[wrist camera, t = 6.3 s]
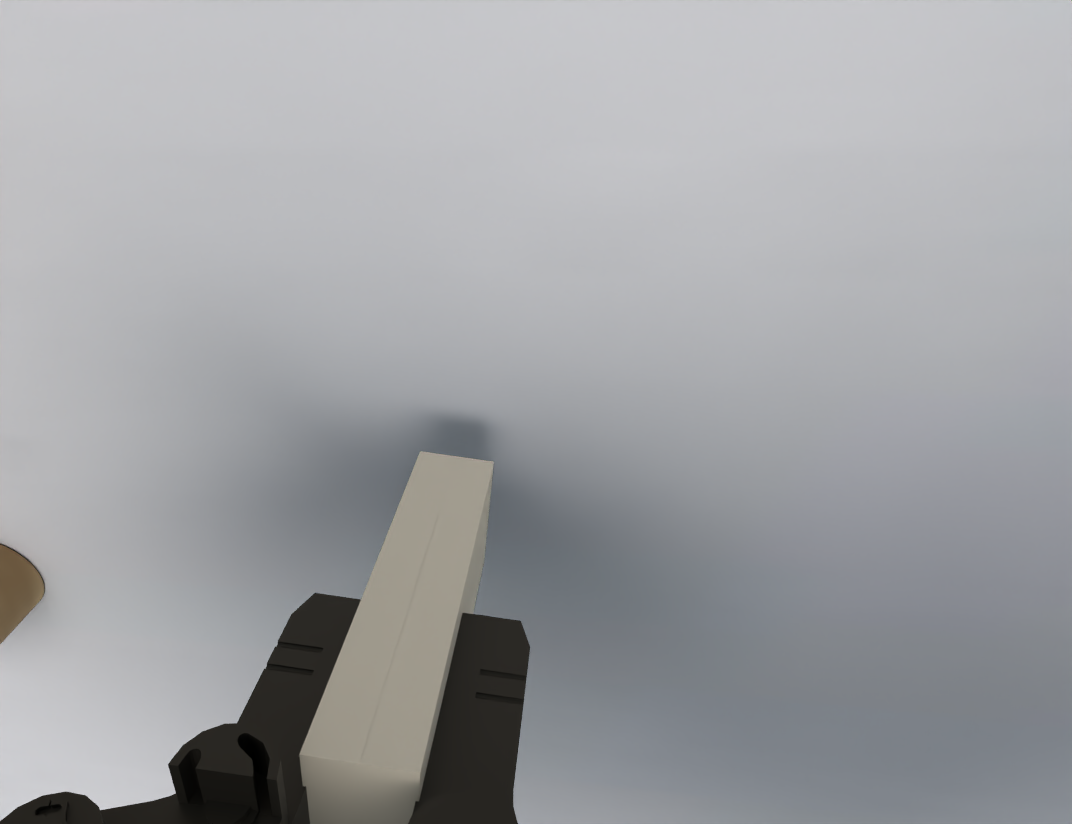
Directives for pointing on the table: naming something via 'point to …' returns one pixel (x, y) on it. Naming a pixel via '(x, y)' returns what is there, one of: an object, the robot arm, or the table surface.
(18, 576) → the post
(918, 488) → the table surface
